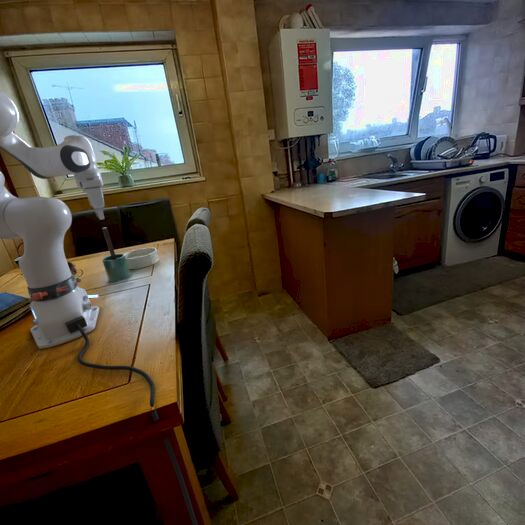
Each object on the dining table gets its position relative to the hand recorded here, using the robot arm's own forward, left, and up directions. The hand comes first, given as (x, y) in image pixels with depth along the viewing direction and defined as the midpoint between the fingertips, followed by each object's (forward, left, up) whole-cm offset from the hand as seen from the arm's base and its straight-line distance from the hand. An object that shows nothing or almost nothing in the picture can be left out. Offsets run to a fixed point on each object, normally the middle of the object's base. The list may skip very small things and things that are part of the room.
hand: (100, 218), depth 111 cm
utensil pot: (0, 0, -27) cm, 27 cm away
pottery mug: (+26, +20, -27) cm, 42 cm away
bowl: (+12, -12, -27) cm, 32 cm away
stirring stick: (0, 0, -26) cm, 26 cm away
